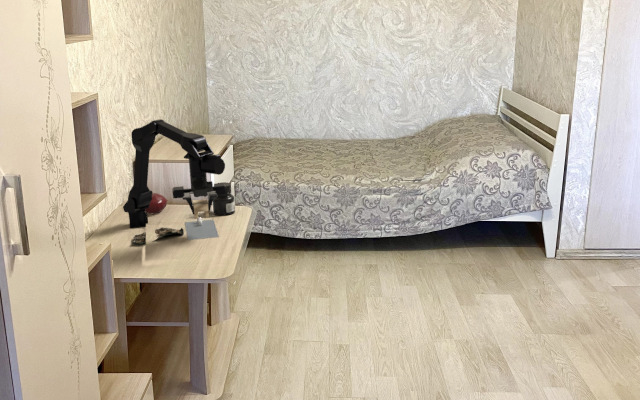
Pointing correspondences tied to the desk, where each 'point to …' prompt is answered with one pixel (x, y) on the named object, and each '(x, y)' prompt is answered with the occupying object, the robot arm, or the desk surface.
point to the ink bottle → (224, 202)
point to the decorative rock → (162, 231)
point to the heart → (156, 204)
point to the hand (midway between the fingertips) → (201, 213)
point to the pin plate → (201, 229)
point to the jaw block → (200, 207)
